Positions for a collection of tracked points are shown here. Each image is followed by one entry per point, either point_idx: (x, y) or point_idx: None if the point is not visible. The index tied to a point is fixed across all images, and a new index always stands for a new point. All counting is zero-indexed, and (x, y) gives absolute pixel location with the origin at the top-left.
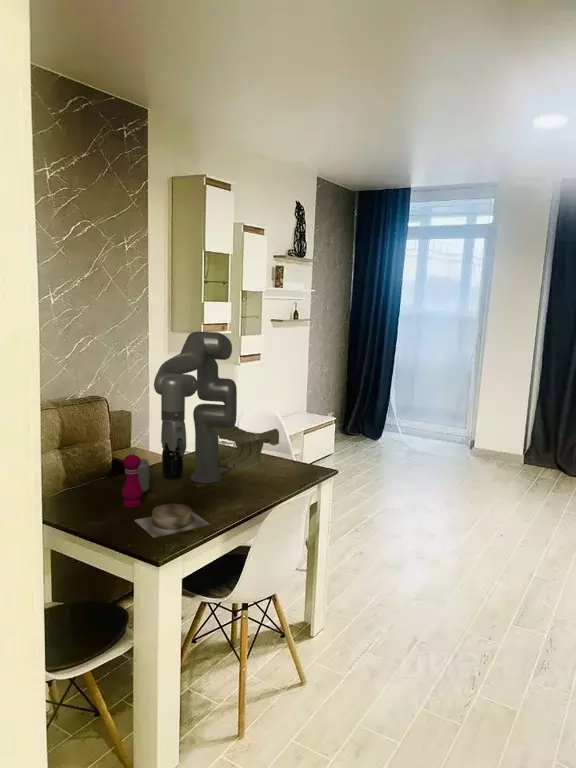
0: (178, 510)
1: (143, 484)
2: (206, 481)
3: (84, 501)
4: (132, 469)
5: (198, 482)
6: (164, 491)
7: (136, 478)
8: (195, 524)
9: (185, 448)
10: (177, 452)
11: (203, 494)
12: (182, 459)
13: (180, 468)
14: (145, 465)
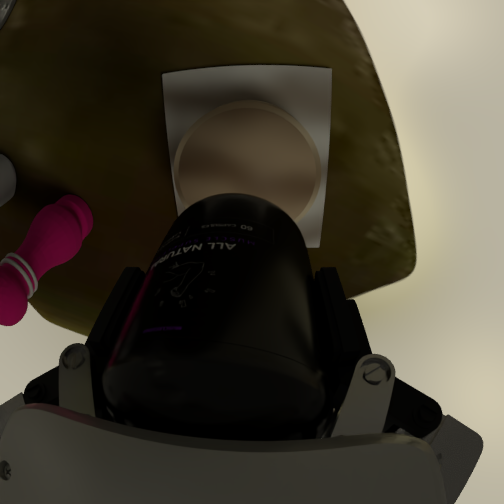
0: (260, 157)
1: (2, 179)
2: (11, 4)
3: (54, 288)
4: (27, 288)
5: (3, 24)
6: (16, 115)
7: (37, 253)
8: (309, 108)
9: (433, 457)
10: (318, 437)
11: (67, 9)
12: (359, 345)
13: (352, 302)
14: None
